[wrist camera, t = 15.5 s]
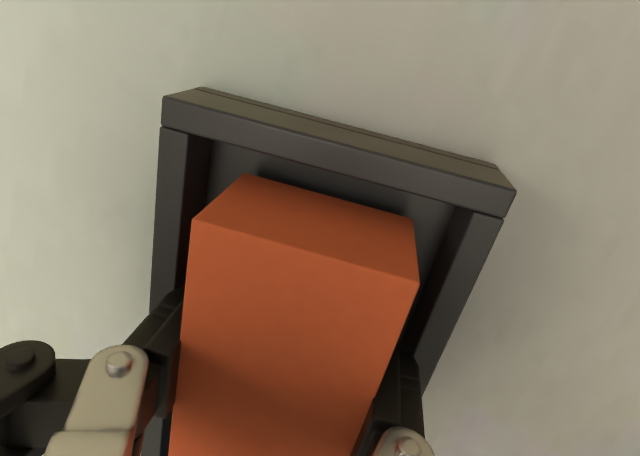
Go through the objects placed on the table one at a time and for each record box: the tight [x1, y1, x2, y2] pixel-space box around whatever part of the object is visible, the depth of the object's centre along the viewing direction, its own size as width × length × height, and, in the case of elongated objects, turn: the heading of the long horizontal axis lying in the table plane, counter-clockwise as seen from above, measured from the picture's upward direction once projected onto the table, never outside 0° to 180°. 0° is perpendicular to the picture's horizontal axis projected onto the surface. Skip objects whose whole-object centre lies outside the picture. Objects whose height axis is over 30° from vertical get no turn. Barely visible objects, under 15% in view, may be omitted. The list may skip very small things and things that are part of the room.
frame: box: [141, 87, 517, 456], centre depth 16 cm, size 23×9×2 cm, turn 167°
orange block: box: [168, 173, 420, 456], centre depth 12 cm, size 9×5×4 cm, turn 167°
